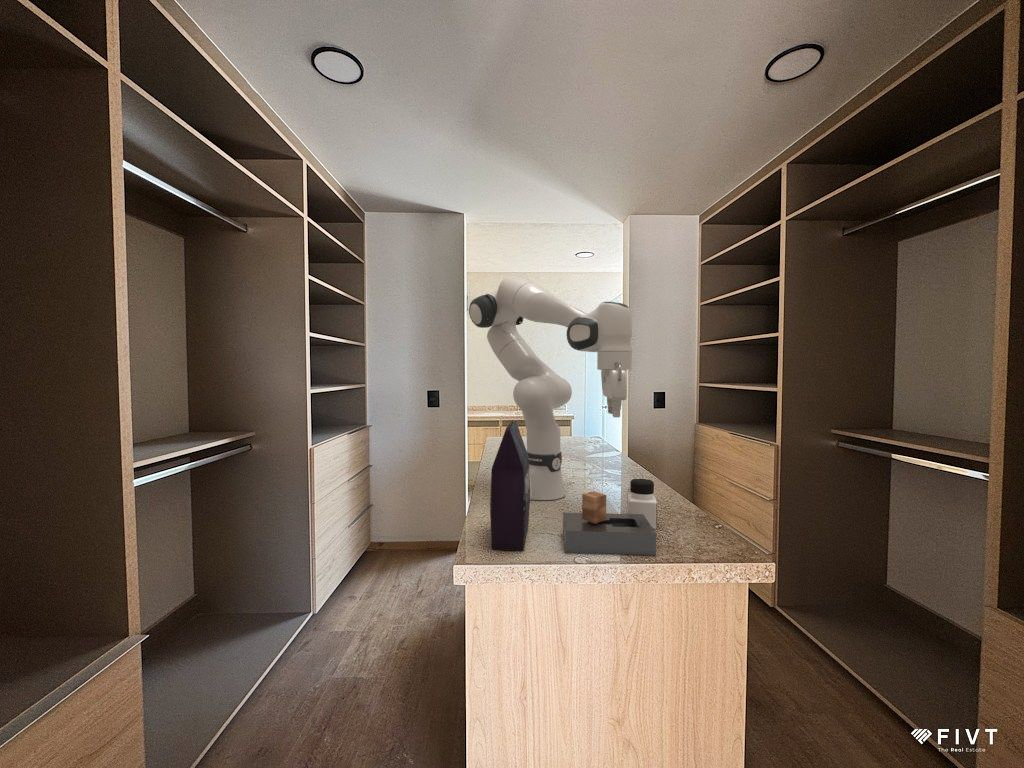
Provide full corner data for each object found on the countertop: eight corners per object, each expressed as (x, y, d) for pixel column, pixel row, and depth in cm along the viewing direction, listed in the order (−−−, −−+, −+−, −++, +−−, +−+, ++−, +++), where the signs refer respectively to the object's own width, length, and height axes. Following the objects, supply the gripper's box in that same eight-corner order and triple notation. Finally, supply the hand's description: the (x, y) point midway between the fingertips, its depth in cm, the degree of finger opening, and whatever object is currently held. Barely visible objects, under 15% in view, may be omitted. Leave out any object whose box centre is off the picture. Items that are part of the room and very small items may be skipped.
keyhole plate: (565, 552, 101) (565, 530, 101) (562, 531, 114) (562, 512, 114) (656, 555, 100) (656, 533, 100) (642, 534, 113) (643, 514, 113)
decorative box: (530, 527, 118) (530, 420, 117) (525, 552, 102) (525, 428, 101) (499, 525, 119) (499, 420, 118) (489, 550, 102) (489, 428, 102)
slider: (594, 547, 104) (594, 498, 104) (580, 541, 108) (581, 493, 108) (607, 543, 107) (607, 494, 107) (593, 537, 111) (593, 490, 110)
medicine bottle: (656, 529, 116) (657, 483, 116) (628, 527, 118) (629, 482, 117) (653, 520, 123) (654, 477, 123) (627, 518, 125) (627, 475, 124)
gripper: (633, 362, 108) (632, 419, 109) (620, 363, 129) (620, 412, 129) (606, 362, 109) (606, 419, 109) (598, 363, 129) (597, 411, 130)
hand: (613, 415), depth 119 cm, fingers open, 8 cm apart
